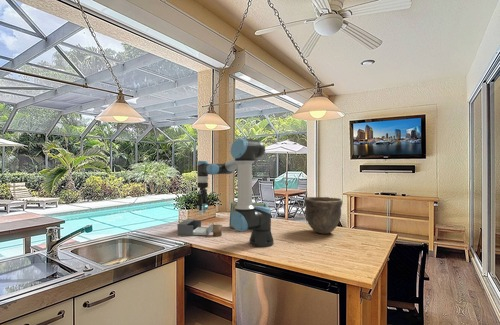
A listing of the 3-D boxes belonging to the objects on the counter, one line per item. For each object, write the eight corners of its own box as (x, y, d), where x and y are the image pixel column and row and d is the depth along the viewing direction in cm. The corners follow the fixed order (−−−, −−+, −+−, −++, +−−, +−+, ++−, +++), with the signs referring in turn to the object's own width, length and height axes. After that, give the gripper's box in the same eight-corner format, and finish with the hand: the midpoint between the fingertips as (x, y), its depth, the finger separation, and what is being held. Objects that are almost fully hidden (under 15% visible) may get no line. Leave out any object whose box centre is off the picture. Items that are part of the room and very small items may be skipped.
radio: (229, 228, 211) (229, 196, 211) (232, 226, 218) (232, 194, 218) (266, 231, 202) (266, 197, 202) (268, 228, 210) (268, 196, 210)
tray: (207, 235, 188) (207, 228, 188) (190, 234, 190) (190, 228, 190) (213, 229, 205) (213, 223, 205) (198, 228, 207) (198, 222, 207)
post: (220, 236, 186) (220, 226, 186) (212, 236, 187) (212, 226, 187) (222, 234, 192) (222, 224, 192) (214, 234, 193) (214, 224, 193)
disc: (206, 209, 193) (206, 206, 193) (195, 209, 194) (195, 205, 194) (209, 207, 201) (209, 204, 201) (198, 207, 202) (198, 204, 202)
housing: (195, 236, 188) (195, 224, 188) (177, 235, 190) (177, 224, 190) (203, 229, 207) (203, 219, 207) (187, 228, 209) (187, 218, 209)
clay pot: (309, 237, 184) (309, 200, 184) (301, 228, 210) (301, 196, 210) (348, 237, 185) (348, 200, 185) (335, 228, 210) (335, 196, 210)
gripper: (203, 183, 187) (203, 216, 187) (211, 181, 207) (211, 211, 207) (192, 183, 188) (192, 216, 188) (202, 181, 208) (201, 211, 208)
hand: (202, 213), depth 197 cm, fingers closed on disc, 8 cm apart
